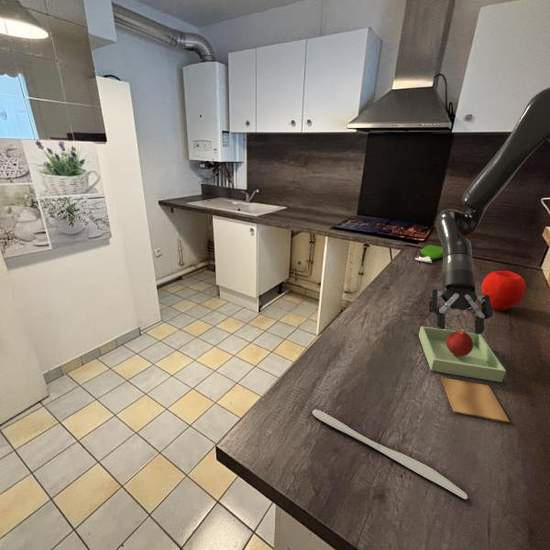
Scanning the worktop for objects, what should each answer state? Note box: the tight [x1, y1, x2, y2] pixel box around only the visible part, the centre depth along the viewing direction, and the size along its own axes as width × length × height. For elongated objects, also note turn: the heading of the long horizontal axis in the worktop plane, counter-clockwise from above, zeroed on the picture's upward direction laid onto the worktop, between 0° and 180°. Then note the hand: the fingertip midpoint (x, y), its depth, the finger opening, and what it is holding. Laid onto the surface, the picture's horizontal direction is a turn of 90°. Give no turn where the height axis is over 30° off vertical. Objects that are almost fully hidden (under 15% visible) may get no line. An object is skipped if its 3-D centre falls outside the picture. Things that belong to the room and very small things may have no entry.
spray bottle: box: [414, 244, 443, 264], centre depth 149 cm, size 3×11×24 cm
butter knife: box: [312, 408, 469, 500], centre depth 52 cm, size 1×27×3 cm
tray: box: [418, 325, 507, 383], centre depth 76 cm, size 15×15×3 cm
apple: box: [481, 270, 527, 312], centre depth 98 cm, size 12×12×13 cm
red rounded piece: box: [446, 328, 473, 356], centre depth 75 cm, size 6×6×8 cm
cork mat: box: [440, 377, 510, 424], centre depth 63 cm, size 10×10×1 cm
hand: (460, 331), depth 75 cm, fingers open, 8 cm apart
